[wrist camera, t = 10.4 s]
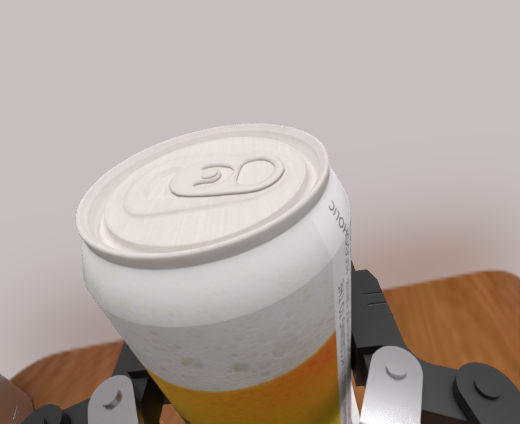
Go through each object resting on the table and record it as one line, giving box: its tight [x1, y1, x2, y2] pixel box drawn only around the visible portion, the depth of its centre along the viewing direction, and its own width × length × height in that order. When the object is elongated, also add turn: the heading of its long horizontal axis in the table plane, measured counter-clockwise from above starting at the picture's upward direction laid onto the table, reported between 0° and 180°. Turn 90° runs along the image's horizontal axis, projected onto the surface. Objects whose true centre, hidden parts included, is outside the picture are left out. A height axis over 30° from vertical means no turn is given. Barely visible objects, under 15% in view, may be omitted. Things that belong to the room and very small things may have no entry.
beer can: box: [75, 124, 351, 424], centre depth 11 cm, size 6×6×15 cm
